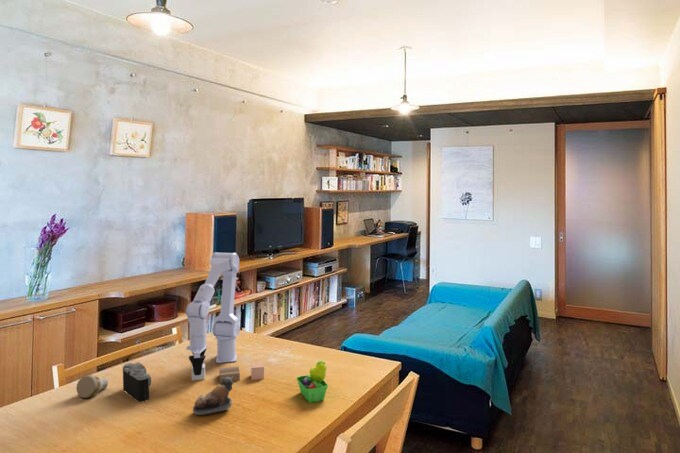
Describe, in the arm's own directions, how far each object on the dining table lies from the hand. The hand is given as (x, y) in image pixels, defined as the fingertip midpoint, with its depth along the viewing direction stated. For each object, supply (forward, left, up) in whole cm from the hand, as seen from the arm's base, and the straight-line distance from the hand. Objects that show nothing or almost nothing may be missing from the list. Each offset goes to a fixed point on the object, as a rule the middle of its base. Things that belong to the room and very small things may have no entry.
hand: (198, 371), depth 162 cm
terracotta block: (+5, +21, -3) cm, 22 cm away
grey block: (0, 0, -3) cm, 3 cm away
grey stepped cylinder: (+5, -33, -3) cm, 34 cm away
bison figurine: (+29, +6, -3) cm, 30 cm away
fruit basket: (+26, +38, -3) cm, 46 cm away
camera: (+9, -18, -3) cm, 21 cm away
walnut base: (+3, +11, -3) cm, 12 cm away
